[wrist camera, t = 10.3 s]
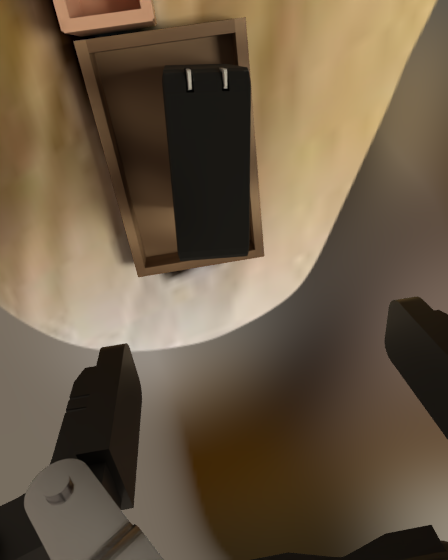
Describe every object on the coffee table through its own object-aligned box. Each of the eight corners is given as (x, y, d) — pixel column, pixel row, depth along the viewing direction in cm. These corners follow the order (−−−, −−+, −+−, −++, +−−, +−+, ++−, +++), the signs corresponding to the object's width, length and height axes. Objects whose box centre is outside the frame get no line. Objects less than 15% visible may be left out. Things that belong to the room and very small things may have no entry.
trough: (82, 42, 25) (73, 41, 23) (239, 20, 26) (245, 17, 24) (140, 262, 34) (138, 277, 31) (258, 242, 34) (264, 256, 32)
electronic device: (176, 208, 31) (178, 267, 22) (163, 65, 26) (160, 70, 17) (228, 204, 31) (250, 261, 23) (225, 63, 26) (252, 67, 18)
